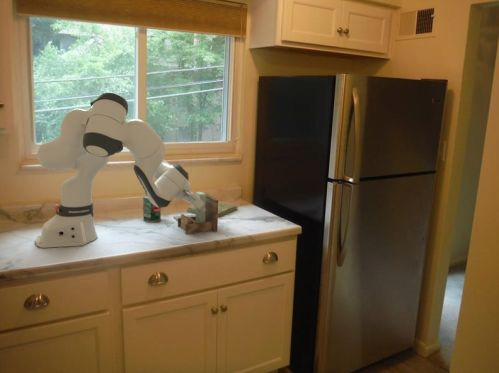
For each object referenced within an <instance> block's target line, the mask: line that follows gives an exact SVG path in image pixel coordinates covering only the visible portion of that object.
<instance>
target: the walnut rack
mask: <svg viewBox="0 0 499 373" xmlns="http://www.w3.org/2000/svg"><path fill="white" fill-rule="evenodd" d="M205 194H206V200H205V208H206V210H205V222H204V223H195V224H185V232H184V234H186V235H191V234H199V233H200V234H201V233H209V232H214V233H217V232H218V225H219V224H218V223H219V222H218V219H219V217H218V202H219V199H217V198H215V197H213V196H212V195H210V194H209V193H207V192H206V193H205ZM191 218H192V219H193V220H195V221H196V216H193V217H191ZM177 227H178V228H181V218H178V221H177Z"/></svg>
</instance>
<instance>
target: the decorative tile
mask: <svg viewBox="0 0 499 373" xmlns="http://www.w3.org/2000/svg"><path fill="white" fill-rule="evenodd" d="M237 209H238V206H237V205H236V204H232V203H229V202H225V201H219V200H218V218H220V217H223V216H224V215H227V214H230V213H232V212H235V211H236V210H237ZM186 213H188V214H191V215H196V207H194V206H193V205H191V204H190V205H189V206H187V209H186Z"/></svg>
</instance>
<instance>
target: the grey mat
mask: <svg viewBox="0 0 499 373" xmlns="http://www.w3.org/2000/svg"><path fill="white" fill-rule="evenodd" d="M184 215H185V216H187V217H193V216H196V214H187V215H186V214H184ZM178 218H181V215H176V216H173V219H174V220H175V221H177V222H178Z"/></svg>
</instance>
